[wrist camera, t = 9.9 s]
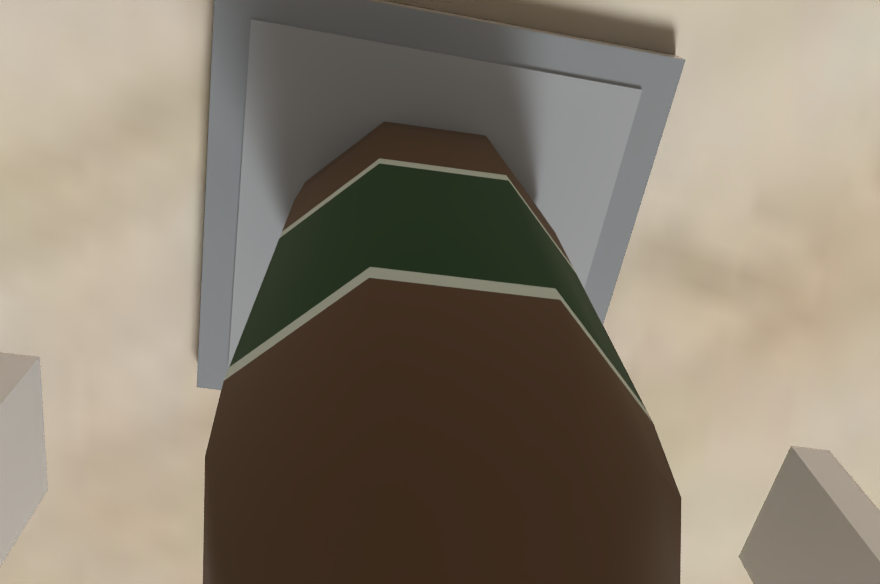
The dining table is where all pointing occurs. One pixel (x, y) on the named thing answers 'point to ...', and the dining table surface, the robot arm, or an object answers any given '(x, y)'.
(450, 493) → the beer bottle
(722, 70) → the dining table surface
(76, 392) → the dining table surface
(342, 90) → the plate
